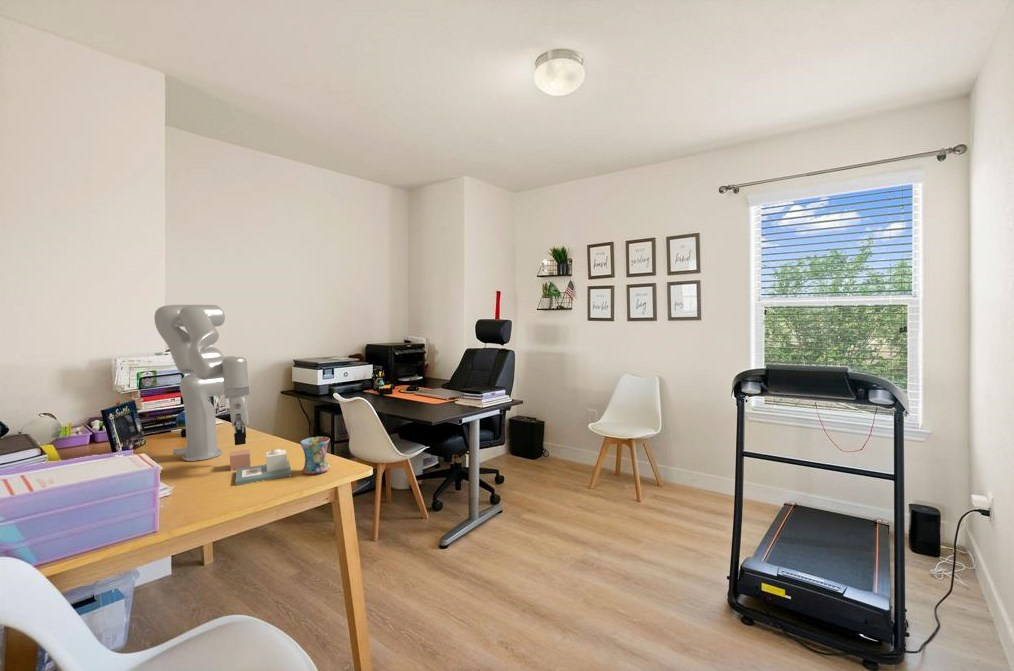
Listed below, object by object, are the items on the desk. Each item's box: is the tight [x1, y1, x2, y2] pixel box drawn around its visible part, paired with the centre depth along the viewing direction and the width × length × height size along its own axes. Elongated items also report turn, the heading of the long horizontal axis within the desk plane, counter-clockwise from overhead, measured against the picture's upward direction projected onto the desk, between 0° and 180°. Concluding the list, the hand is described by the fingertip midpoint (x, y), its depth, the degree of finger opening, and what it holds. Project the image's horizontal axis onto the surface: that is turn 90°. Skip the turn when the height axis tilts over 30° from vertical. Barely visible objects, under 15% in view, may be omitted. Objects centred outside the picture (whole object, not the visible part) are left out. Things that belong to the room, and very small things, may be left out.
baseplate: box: [235, 448, 293, 486], centre depth 158 cm, size 16×14×7 cm
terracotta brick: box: [229, 448, 252, 471], centre depth 166 cm, size 6×6×5 cm
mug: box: [299, 436, 331, 475], centre depth 158 cm, size 12×9×11 cm
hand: (240, 441), depth 165 cm, fingers open, 9 cm apart
